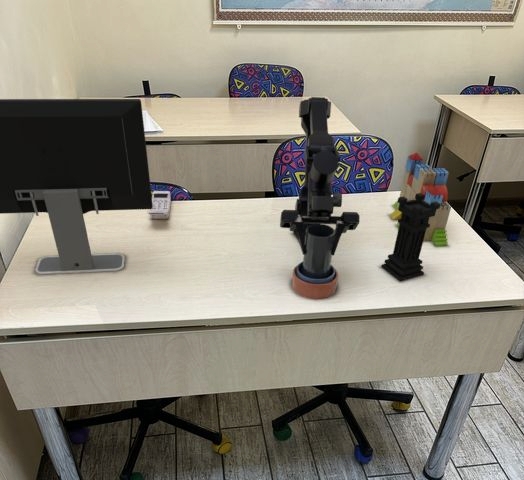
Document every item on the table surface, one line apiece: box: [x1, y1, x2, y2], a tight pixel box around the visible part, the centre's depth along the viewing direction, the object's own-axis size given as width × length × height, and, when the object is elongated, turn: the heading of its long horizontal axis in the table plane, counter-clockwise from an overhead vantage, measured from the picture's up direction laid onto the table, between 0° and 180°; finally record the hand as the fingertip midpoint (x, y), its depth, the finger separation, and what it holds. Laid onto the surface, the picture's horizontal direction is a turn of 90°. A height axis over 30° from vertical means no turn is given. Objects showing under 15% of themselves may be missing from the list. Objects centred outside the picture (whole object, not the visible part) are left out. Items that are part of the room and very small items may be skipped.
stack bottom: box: [291, 263, 339, 300], centre depth 129 cm, size 11×11×4 cm
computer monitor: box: [0, 98, 153, 275], centre depth 122 cm, size 41×8×40 cm, turn 98°
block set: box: [389, 152, 452, 247], centre depth 153 cm, size 28×14×19 cm, turn 7°
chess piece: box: [380, 193, 440, 282], centre depth 131 cm, size 8×8×20 cm
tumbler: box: [302, 224, 335, 279], centre depth 124 cm, size 7×7×12 cm
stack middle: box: [296, 261, 336, 284], centre depth 129 cm, size 10×10×5 cm
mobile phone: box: [146, 190, 172, 220], centre depth 158 cm, size 6×6×25 cm
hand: (318, 254), depth 123 cm, fingers closed on tumbler, 7 cm apart
